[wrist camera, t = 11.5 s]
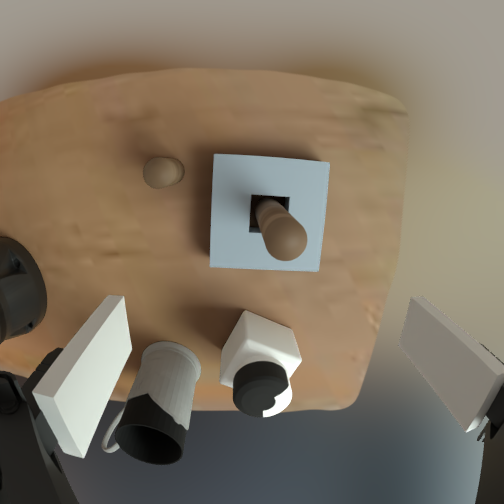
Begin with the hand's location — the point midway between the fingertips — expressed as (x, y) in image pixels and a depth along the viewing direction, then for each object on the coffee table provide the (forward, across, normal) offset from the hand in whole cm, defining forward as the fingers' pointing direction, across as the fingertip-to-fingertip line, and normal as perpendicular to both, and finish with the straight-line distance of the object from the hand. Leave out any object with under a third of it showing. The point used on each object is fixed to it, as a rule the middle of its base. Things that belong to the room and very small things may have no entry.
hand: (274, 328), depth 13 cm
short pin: (+23, -9, +6) cm, 26 cm away
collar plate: (+23, +2, +2) cm, 23 cm away
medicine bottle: (+23, +2, -15) cm, 28 cm away
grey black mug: (+24, -13, -22) cm, 35 cm away
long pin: (+23, +2, +2) cm, 23 cm away
